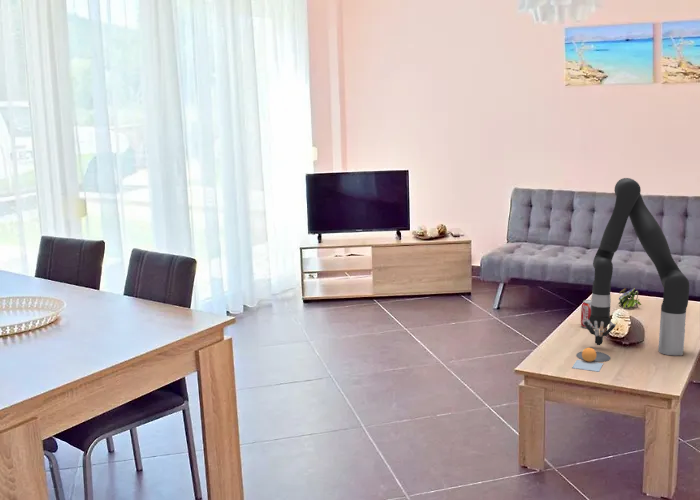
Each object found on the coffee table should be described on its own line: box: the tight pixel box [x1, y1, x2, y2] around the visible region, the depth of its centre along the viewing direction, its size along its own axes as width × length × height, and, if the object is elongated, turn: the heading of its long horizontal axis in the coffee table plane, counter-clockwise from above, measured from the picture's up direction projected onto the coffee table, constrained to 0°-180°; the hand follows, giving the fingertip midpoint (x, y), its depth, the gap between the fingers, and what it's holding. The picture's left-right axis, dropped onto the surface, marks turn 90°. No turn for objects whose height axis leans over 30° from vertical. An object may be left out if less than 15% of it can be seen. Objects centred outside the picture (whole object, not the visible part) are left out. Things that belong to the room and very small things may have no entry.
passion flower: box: [618, 287, 642, 309], centre depth 366 cm, size 11×11×12 cm
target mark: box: [576, 350, 611, 363], centre depth 294 cm, size 13×13×1 cm
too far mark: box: [571, 359, 604, 373], centre depth 284 cm, size 10×10×1 cm
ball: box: [581, 347, 597, 362], centre depth 289 cm, size 6×6×6 cm
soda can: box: [580, 299, 595, 329], centre depth 333 cm, size 7×7×12 cm
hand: (598, 344), depth 305 cm, fingers closed
